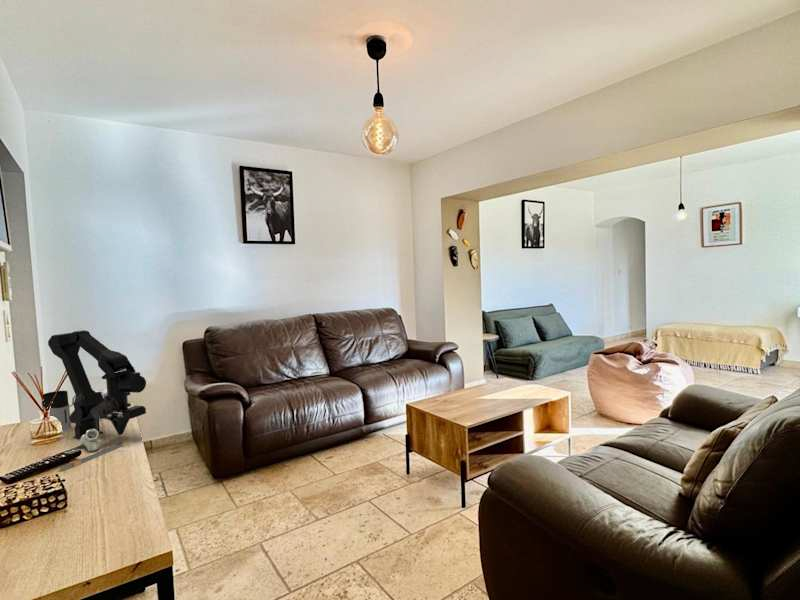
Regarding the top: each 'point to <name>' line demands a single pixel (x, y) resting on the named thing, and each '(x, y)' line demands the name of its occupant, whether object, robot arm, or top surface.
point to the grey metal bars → (78, 462)
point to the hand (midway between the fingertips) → (120, 434)
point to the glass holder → (59, 408)
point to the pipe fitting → (90, 440)
